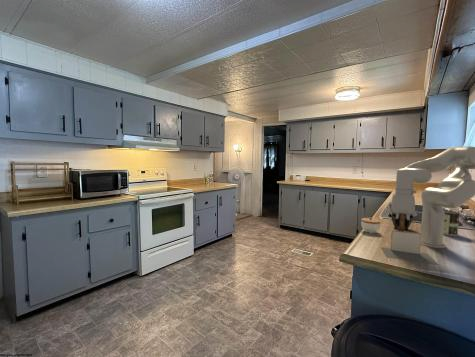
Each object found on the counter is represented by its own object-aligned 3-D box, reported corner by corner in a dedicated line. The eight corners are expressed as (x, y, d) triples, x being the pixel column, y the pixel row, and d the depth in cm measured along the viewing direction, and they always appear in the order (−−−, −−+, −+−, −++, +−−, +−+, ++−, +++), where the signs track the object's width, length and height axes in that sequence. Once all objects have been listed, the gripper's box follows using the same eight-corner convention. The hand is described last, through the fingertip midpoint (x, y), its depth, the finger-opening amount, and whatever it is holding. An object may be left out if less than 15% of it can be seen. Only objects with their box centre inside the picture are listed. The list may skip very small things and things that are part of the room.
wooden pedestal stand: (392, 232, 129) (394, 207, 128) (405, 233, 127) (407, 208, 126) (395, 235, 124) (397, 209, 123) (409, 237, 122) (411, 210, 121)
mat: (380, 247, 123) (380, 247, 123) (427, 254, 116) (427, 253, 116) (386, 258, 110) (386, 257, 110) (439, 265, 103) (439, 265, 103)
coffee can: (456, 233, 152) (458, 211, 151) (458, 237, 144) (460, 214, 143) (435, 230, 159) (437, 209, 157) (436, 233, 150) (438, 211, 149)
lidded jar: (371, 235, 145) (372, 220, 144) (356, 230, 154) (357, 216, 154) (383, 233, 149) (384, 218, 148) (368, 228, 159) (369, 214, 158)
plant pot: (382, 226, 164) (384, 204, 163) (396, 224, 170) (397, 202, 169) (405, 232, 151) (407, 208, 149) (419, 230, 157) (421, 206, 156)
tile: (390, 249, 121) (391, 230, 120) (418, 253, 116) (420, 233, 116) (390, 250, 119) (392, 231, 118) (419, 254, 115) (421, 234, 114)
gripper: (420, 192, 124) (417, 226, 126) (384, 190, 130) (382, 222, 132) (425, 194, 117) (422, 230, 119) (387, 192, 123) (384, 226, 125)
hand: (401, 226), depth 125 cm, fingers closed on wooden pedestal stand, 3 cm apart
